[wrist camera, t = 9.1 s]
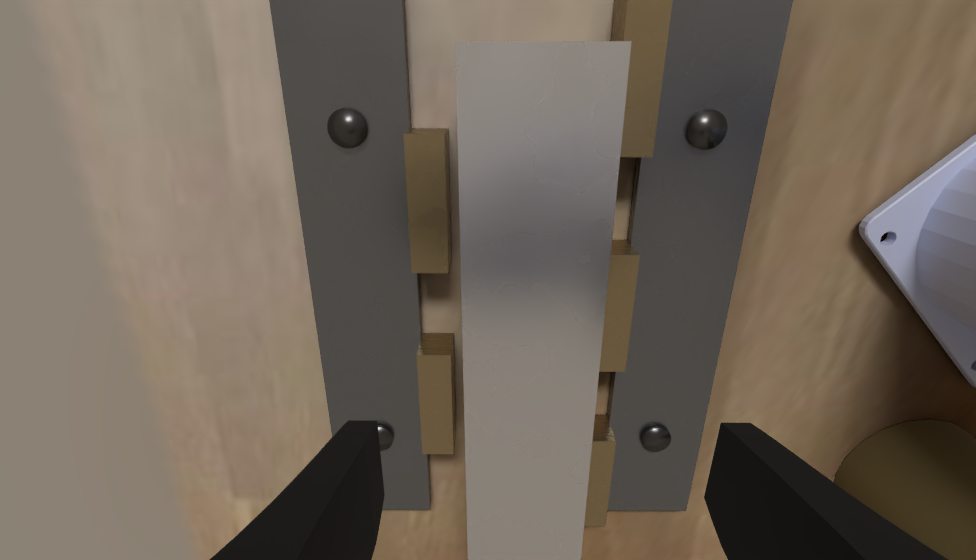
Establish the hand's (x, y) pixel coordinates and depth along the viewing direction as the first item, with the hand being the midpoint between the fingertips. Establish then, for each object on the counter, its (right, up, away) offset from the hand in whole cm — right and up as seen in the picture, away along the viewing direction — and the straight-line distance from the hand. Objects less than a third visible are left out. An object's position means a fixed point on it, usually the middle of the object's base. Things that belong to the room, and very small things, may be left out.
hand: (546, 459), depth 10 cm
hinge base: (0, +3, +8) cm, 8 cm away
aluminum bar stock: (0, +3, +8) cm, 9 cm away
